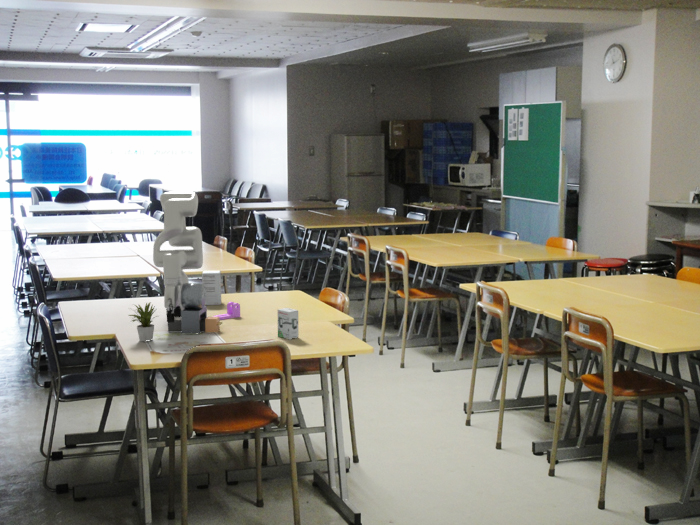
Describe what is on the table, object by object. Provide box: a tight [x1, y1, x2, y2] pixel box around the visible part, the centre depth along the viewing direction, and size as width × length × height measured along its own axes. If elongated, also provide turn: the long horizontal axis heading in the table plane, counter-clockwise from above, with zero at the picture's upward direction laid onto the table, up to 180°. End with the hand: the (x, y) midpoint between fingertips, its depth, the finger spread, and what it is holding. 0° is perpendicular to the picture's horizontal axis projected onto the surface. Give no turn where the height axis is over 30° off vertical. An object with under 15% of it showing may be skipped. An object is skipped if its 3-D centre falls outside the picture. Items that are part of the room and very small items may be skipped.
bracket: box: [212, 301, 241, 321], centre depth 371 cm, size 13×6×7 cm, turn 132°
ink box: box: [277, 307, 299, 340], centre depth 327 cm, size 9×5×12 cm, turn 44°
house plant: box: [128, 302, 158, 342], centre depth 324 cm, size 14×14×16 cm
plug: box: [167, 316, 223, 334], centre depth 341 cm, size 5×23×6 cm, turn 85°
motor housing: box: [180, 282, 208, 335], centre depth 340 cm, size 12×8×21 cm, turn 175°
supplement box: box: [201, 270, 222, 306], centre depth 409 cm, size 10×9×17 cm
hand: (174, 319), depth 342 cm, fingers open, 9 cm apart
